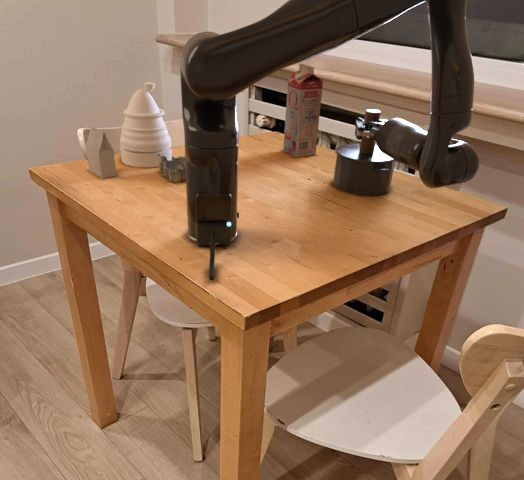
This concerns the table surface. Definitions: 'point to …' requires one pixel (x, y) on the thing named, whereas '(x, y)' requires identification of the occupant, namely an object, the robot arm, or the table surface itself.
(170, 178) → the egg carton
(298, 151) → the milk carton
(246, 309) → the table surface
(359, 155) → the lid
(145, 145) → the honey pot
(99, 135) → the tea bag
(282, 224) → the table surface
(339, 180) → the pot
